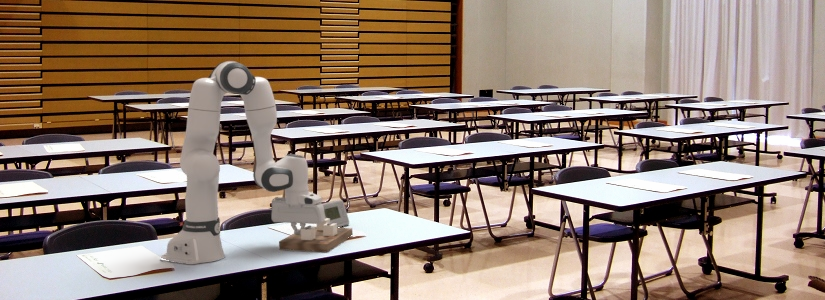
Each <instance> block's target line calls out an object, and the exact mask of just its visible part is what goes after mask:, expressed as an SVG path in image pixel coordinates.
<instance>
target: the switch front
mask: <svg viewBox="0 0 825 300" xmlns="http://www.w3.org/2000/svg"><path fill="white" fill-rule="evenodd" d="M315 227H316V226H312V225H307V226H305V227H304V228H302V229H301V240H313V239H315V238H316V234H315Z"/></svg>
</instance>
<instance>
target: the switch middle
mask: <svg viewBox="0 0 825 300" xmlns="http://www.w3.org/2000/svg"><path fill="white" fill-rule="evenodd" d="M336 234H337V223H333V222H329V223H326V224H324V225H323V236H334V235H336Z"/></svg>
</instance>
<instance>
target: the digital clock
mask: <svg viewBox="0 0 825 300" xmlns="http://www.w3.org/2000/svg"><path fill="white" fill-rule="evenodd" d="M322 205H323V207H324V212H325V217H326V218H330V222H333V223H337V228H338V227H341V228H343V227H342V226H344V227H345V226H349V224H350V220H349V216H348V213H347V209H346V207H345V203H344V201H343V199H337V200H332V201H327V202H323V203H322Z"/></svg>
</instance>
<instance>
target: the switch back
mask: <svg viewBox="0 0 825 300" xmlns="http://www.w3.org/2000/svg"><path fill="white" fill-rule="evenodd" d="M329 222H330V218H326V217H325V220H324V222H323V223H321V224H316V227H317V230H322V231H323V225H324V224H326V223H329Z"/></svg>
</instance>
